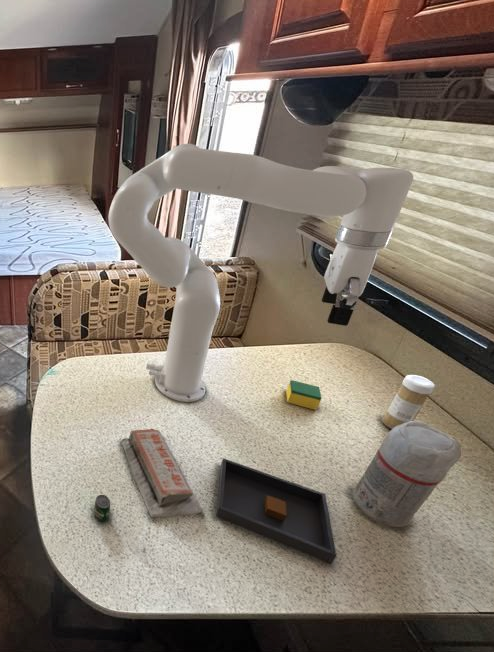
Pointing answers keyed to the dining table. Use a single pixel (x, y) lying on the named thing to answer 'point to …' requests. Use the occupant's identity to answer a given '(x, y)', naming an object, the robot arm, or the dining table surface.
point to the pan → (249, 512)
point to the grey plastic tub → (405, 472)
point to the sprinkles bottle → (408, 400)
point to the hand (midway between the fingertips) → (333, 312)
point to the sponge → (303, 394)
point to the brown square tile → (275, 508)
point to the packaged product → (158, 475)
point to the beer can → (102, 508)
